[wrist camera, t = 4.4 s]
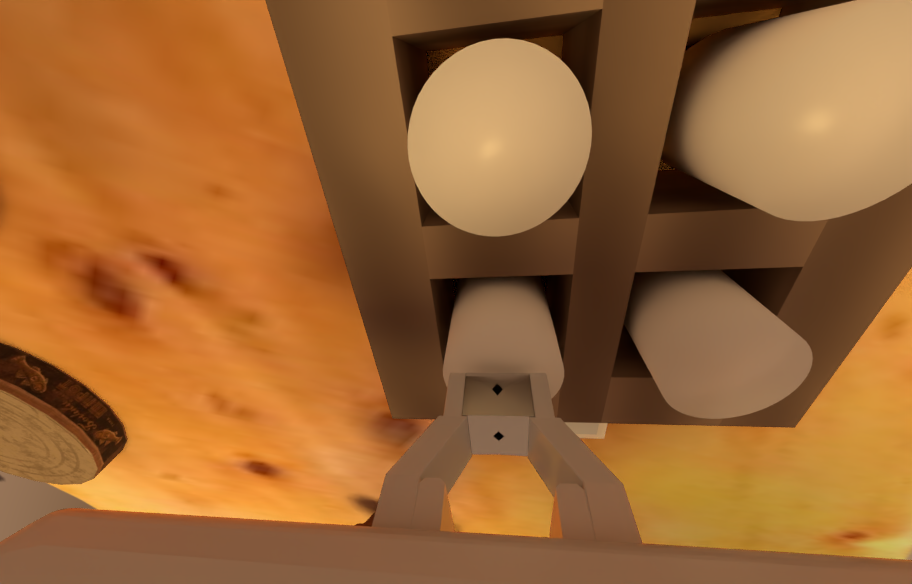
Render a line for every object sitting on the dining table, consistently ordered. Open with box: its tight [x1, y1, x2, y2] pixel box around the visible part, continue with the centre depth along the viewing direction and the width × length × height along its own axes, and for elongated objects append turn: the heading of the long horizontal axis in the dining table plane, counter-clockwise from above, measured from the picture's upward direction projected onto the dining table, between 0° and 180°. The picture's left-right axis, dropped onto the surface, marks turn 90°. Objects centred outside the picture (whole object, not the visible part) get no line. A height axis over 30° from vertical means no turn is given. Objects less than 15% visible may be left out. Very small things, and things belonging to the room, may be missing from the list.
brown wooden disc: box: [0, 343, 127, 485], centre depth 27 cm, size 16×16×3 cm
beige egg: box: [408, 38, 592, 236], centre depth 9 cm, size 4×4×5 cm
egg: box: [443, 275, 564, 399], centre depth 13 cm, size 4×4×5 cm
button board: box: [266, 0, 912, 427], centre depth 13 cm, size 18×18×5 cm
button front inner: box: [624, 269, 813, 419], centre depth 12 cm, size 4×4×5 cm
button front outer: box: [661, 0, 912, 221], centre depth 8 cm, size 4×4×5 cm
